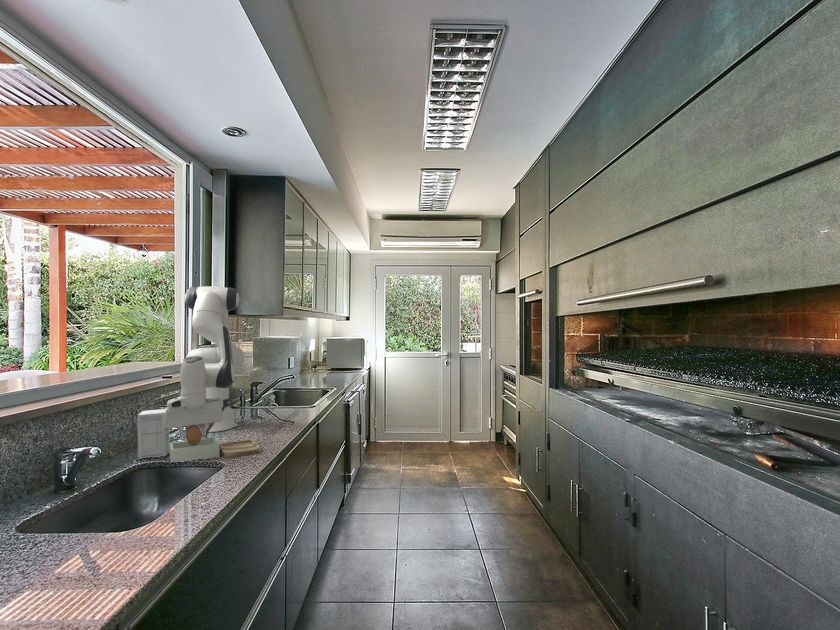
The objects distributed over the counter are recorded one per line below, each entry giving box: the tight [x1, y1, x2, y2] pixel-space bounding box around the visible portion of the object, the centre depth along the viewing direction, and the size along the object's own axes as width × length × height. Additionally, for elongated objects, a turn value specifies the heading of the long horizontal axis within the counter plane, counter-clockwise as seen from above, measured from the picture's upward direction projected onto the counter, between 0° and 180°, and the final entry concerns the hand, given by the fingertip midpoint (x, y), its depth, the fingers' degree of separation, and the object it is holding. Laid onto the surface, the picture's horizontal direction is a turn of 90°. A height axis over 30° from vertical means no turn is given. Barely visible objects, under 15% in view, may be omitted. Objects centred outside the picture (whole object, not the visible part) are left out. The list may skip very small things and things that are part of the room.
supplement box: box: [136, 408, 171, 458], centre depth 176 cm, size 10×9×17 cm
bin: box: [169, 436, 221, 464], centre depth 173 cm, size 12×16×5 cm
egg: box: [185, 425, 203, 446], centre depth 174 cm, size 5×5×8 cm
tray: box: [219, 438, 262, 459], centre depth 181 cm, size 18×13×2 cm
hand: (194, 436), depth 174 cm, fingers closed on egg, 5 cm apart
